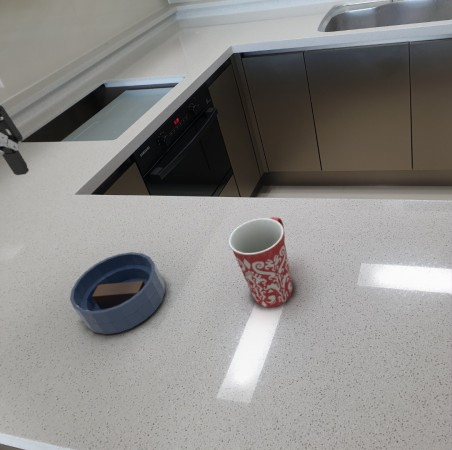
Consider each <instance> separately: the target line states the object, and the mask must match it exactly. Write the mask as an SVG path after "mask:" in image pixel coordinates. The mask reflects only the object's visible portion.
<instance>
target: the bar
mask: <svg viewBox="0 0 452 450" xmlns="http://www.w3.org/2000/svg"><path fill="white" fill-rule="evenodd" d="M144 286H145V283H144V281H136V282H124V283H112V284H101V285H98V287H97V288H96V290H95V292H94V294H93V296H92V297H93V299H94V300H95V302H96V303H97V305H98V306H99V308H100V309H103V308H112V307H115V306H118V305H120V304H122V303H124V302H125V301H127V300H129V299H131V298H132V297H133V296H134V295H136V294H137V293H138V292H139V291H140V290H142V288H143V287H144Z"/></svg>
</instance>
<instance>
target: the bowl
mask: <svg viewBox="0 0 452 450" xmlns="http://www.w3.org/2000/svg"><path fill="white" fill-rule="evenodd" d="M136 281H144V283H145V286H144V287H143V288H142V290H140V291H139V292H138V293H137V294H136V295H134V296H133V297H132V298H131V299H129V300H127V301H125V302H124V303H122V304H120V305H118V306H115V307H112V308H103V309H100V308H99V306H98V305H97V303H96V302H95V300H94V299H93V297H92V296H93V294H94V292H95V290H96V288H97V287H98V285H101V284H112V283H124V282H136ZM165 294H166V286H165V282H164V280H163V278H162V275H161V274H160V272H159V270H158V268H157V266H156V263H155V262H154V260H152V257H150V256H149V255H147V254H144V253H142V252H134V251H131V252H130V251H129V252H123V253H118V254H115V255H111V256H107V257H106V258H104V259H103V260H100V261H98V262H97V263H95V264H93V265H92V266H90V267H89V268H88V269H87V270H85V271H84V272H83V273H82V274H81V276H79V278H78V279H77V280H76V281H75V283H74V285H73V286H72V289H71V292H70V297H69V301H70V304H71V306H72V308H73V309H74V310H75V312H76V314H77V315H78V316H79V317H80V319H81V321H82V322H83V323H84V325H85V326H86V328H87V329H89V330H91V331H92V332H94V333H97V334H98V333H99V334H103V335H109V334H118V333H121V332H124V331H127V330H130V329H133V328H135V326H138V325H139V324H142V323H143V322H144V321H146V320H147V319H148V318H149V317H150V316H152V315H153V314H154V313H155V312H156V310H157V309H158V308H159V307H160V305H161V304H162V302H163V298H164V296H165Z"/></svg>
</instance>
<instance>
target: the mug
mask: <svg viewBox="0 0 452 450" xmlns="http://www.w3.org/2000/svg"><path fill="white" fill-rule="evenodd" d="M285 238H286V237H285V227H284V222H283V220H282V218H280V217H276V216H275V217H270V218H267V217H259V218H254V219H250V220H247V221H245V222H243V223H241V224H239V225H238V226H237V227H235V229H234V230H232V232H231V233H230V235H229V238H228V247H229V248H230V249H231V251H232V252H233V254H234V257H235V260H236V261H237V264H238V266H239V268H240V271H241V273H242V275H243V277H244V279H245V282H246V284H247V286H248V288H249V292H250V293H251V296H252V298H253V300H254V301H255V303H256V304H257V305H259V306H260V307H264V308H274V307H279V306H281V305H283V304H284V303H286V302H287V301H288V300H289V299H290V298H291V296H292V295H293V291H294V287H293V280H292V275H291V270H290V263H289V259H288V253H287V252H288V251H287V246H286V241H285Z"/></svg>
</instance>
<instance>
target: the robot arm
mask: <svg viewBox="0 0 452 450" xmlns="http://www.w3.org/2000/svg"><path fill="white" fill-rule="evenodd" d="M7 130H8V131H9V132H8V131H7ZM22 141H23V135H22V134H21V132H20V130H19V129H18V127H17V125H16V124H15V123H14V121H13V120H12V118H11V117H10V115H9V113H8V112H7V111H6V109H5V107H4V106H3V105H0V153H2V154H1V156H2V158H3V159H4V160H5V162H6V164H7V165H8V166H9V168H10V170H11V172H12V173H13V174H14V175H15V176H22V175H26V174H28V172H29V171H30V169H29V167H28V164H27V162H26V161H25V159H24V158H23V156H22V154H21V153H20V151H19V149H20V147H19V143H20V142H22Z"/></svg>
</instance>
